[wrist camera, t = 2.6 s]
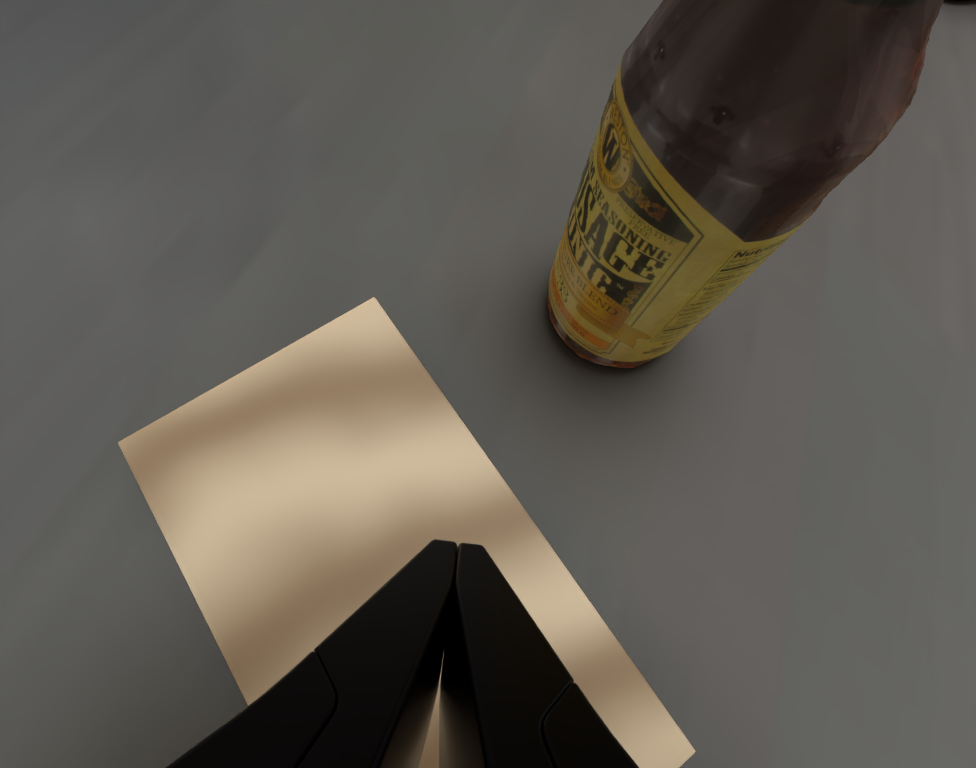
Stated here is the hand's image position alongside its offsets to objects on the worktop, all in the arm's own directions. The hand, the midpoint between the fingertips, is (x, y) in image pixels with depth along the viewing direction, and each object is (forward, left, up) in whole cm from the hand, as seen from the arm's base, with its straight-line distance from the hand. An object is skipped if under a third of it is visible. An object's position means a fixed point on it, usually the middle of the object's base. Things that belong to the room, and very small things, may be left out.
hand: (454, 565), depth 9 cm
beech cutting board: (+1, +2, -12) cm, 12 cm away
